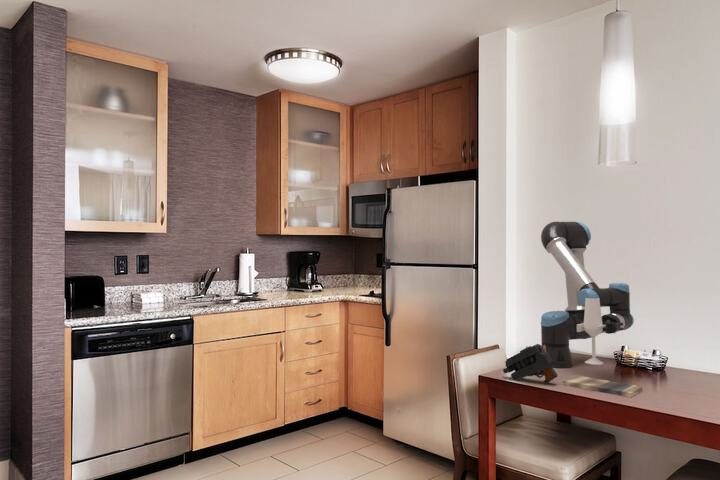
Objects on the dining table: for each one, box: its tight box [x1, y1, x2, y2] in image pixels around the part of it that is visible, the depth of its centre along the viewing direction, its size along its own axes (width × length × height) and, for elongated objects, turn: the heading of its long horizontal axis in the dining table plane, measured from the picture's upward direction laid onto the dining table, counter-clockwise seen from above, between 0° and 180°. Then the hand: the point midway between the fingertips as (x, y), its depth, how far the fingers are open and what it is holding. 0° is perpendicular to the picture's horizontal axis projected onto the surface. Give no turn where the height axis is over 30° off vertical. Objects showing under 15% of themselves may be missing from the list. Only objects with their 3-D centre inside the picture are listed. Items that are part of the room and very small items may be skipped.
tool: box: [502, 343, 559, 385], centre depth 202 cm, size 6×19×15 cm
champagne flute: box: [584, 298, 605, 365], centre depth 194 cm, size 7×7×24 cm
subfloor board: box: [562, 374, 643, 398], centre depth 191 cm, size 24×12×2 cm, turn 44°
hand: (587, 329), depth 190 cm, fingers closed on champagne flute, 7 cm apart
